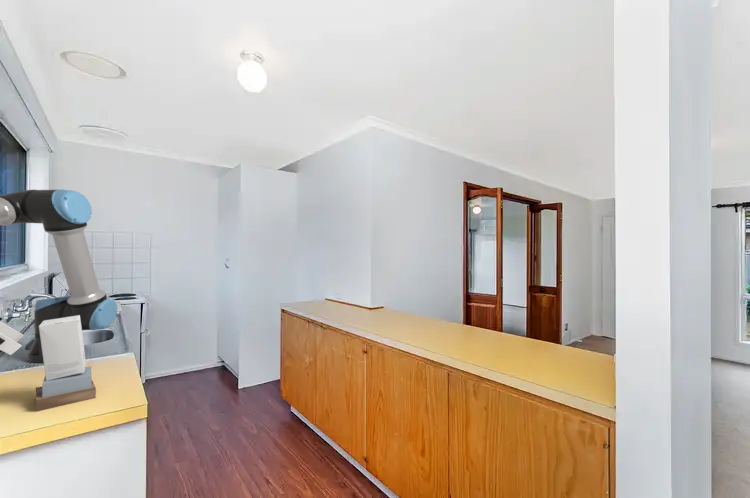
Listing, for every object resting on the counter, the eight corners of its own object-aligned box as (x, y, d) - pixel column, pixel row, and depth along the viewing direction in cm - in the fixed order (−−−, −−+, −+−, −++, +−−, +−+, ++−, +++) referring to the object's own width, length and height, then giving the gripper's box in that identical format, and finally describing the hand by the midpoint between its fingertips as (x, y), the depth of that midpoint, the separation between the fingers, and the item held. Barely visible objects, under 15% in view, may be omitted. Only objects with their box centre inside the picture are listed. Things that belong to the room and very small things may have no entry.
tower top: (45, 386, 99) (45, 373, 99) (91, 378, 106) (91, 366, 106) (42, 397, 92) (42, 384, 92) (91, 388, 98) (91, 375, 98)
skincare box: (86, 366, 103) (82, 314, 102) (84, 373, 98) (79, 319, 97) (48, 373, 99) (43, 319, 98) (43, 382, 93) (38, 324, 92)
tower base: (35, 400, 98) (35, 387, 98) (90, 388, 107) (90, 376, 107) (36, 414, 90) (36, 400, 90) (95, 400, 98) (95, 387, 98)
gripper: (-79, 299, 89) (7, 347, 99) (-111, 312, 70) (-2, 369, 81) (-46, 276, 92) (33, 325, 103) (-69, 284, 74) (30, 342, 84)
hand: (18, 344), depth 92 cm, fingers open, 13 cm apart
